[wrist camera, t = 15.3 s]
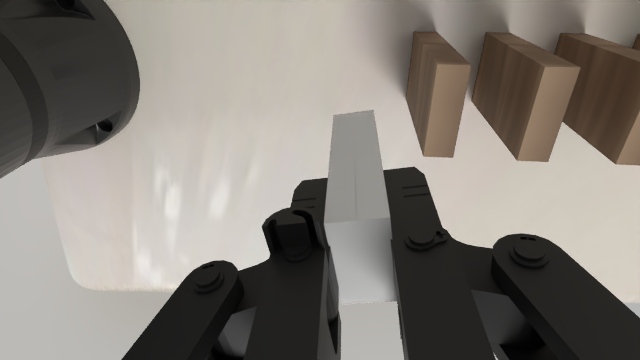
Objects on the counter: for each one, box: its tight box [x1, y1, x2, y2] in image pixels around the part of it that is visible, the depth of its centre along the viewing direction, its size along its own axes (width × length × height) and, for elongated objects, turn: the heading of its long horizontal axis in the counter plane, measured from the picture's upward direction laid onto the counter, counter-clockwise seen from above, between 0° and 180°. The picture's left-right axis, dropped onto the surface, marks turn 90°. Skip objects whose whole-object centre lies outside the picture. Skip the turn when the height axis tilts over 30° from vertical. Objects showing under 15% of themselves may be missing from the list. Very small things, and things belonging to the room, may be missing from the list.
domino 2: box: [472, 33, 581, 162], centre depth 23 cm, size 2×5×10 cm, turn 0°
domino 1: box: [406, 32, 471, 158], centre depth 23 cm, size 2×5×10 cm, turn 1°
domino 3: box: [554, 33, 640, 165], centre depth 23 cm, size 2×5×10 cm, turn 0°
